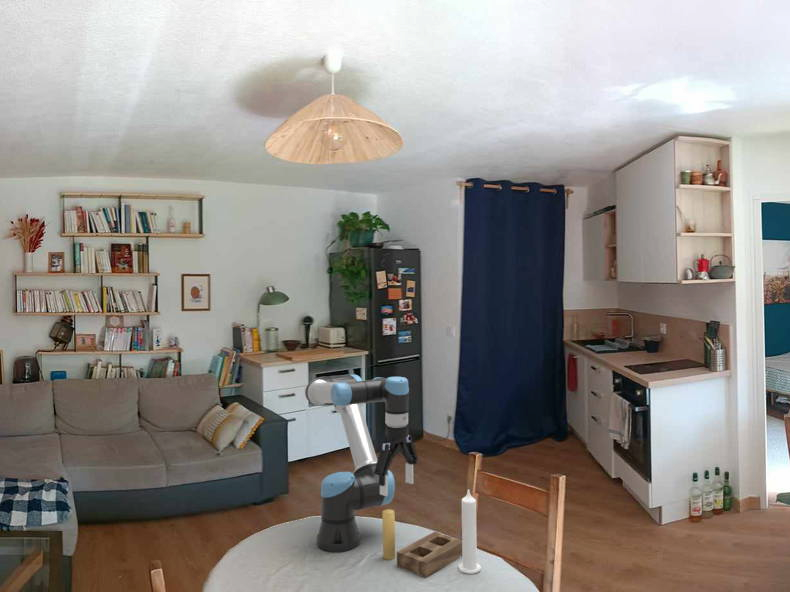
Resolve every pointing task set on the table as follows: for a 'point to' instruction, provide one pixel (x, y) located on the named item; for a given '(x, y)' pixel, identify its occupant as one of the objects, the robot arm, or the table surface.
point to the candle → (469, 536)
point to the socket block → (429, 554)
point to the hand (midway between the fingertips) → (396, 488)
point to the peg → (388, 534)
